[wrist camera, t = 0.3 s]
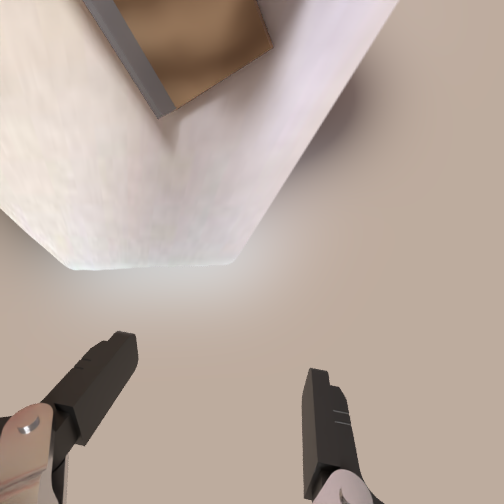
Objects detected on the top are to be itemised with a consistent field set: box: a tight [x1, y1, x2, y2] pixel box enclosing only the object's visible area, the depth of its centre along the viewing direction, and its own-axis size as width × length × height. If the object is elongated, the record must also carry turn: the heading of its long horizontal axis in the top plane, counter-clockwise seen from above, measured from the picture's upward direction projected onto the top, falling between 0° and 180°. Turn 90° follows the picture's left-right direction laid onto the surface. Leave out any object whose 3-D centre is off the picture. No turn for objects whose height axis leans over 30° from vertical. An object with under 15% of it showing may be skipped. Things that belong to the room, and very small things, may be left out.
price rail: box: [83, 0, 176, 119], centre depth 27 cm, size 20×1×4 cm, turn 28°
